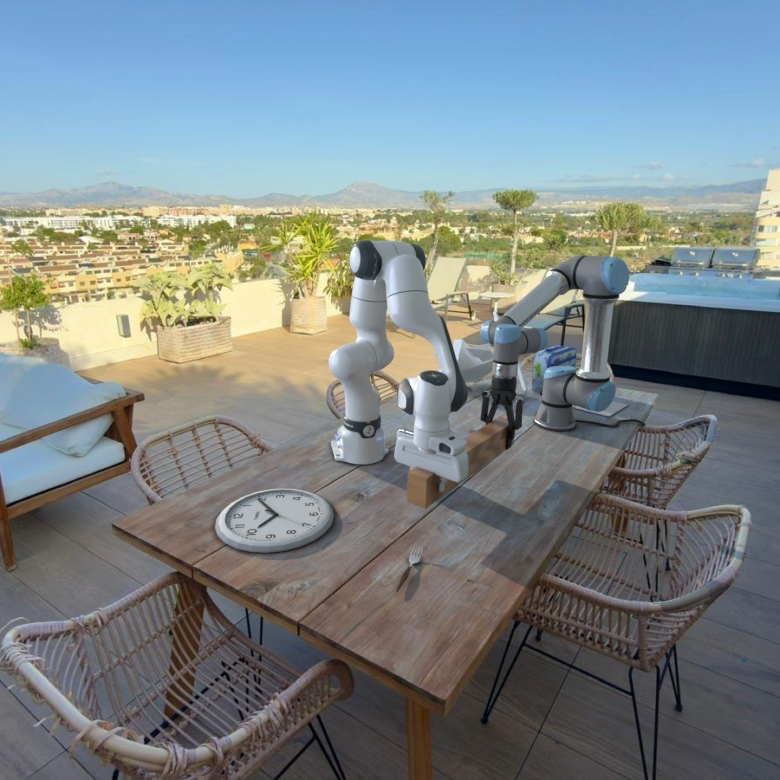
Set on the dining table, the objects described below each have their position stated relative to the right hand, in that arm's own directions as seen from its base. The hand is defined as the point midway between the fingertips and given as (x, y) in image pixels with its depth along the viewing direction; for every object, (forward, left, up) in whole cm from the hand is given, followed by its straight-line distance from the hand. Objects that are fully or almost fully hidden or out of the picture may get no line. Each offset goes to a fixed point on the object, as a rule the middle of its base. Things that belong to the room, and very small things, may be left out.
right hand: (498, 445), depth 167 cm
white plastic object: (+2, -78, -7) cm, 79 cm away
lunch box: (-32, -87, -7) cm, 93 cm away
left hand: (+21, +36, +3) cm, 42 cm away
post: (+10, +18, -1) cm, 21 cm away
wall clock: (+60, +42, -7) cm, 73 cm away
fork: (+24, +59, -7) cm, 64 cm away
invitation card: (-49, -66, -7) cm, 83 cm away
